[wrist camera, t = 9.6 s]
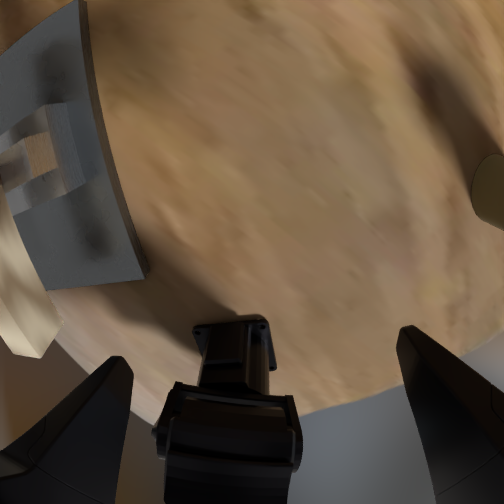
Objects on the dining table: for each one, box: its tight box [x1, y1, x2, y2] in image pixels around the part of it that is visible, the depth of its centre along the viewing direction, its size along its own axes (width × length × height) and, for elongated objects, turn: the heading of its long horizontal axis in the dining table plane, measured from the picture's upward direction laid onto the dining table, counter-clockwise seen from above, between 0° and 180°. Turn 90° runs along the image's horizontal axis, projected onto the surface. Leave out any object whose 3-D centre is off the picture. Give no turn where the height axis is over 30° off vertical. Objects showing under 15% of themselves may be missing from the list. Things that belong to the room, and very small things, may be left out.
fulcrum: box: [0, 0, 150, 291], centre depth 14 cm, size 22×14×6 cm, turn 10°
